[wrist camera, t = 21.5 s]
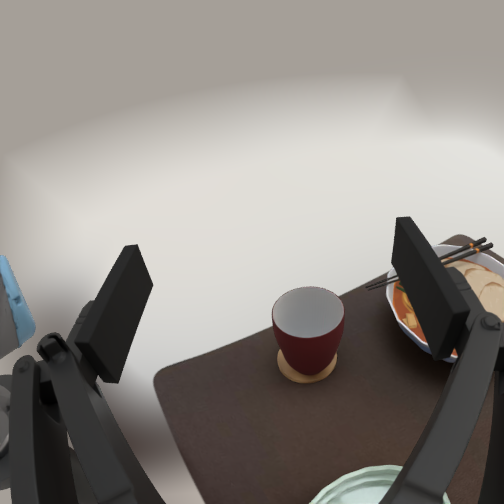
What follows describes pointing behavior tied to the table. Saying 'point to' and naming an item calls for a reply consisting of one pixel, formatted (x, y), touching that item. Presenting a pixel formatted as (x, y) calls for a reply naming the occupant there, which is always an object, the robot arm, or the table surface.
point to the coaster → (301, 378)
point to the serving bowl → (361, 486)
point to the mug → (308, 327)
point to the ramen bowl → (476, 273)
